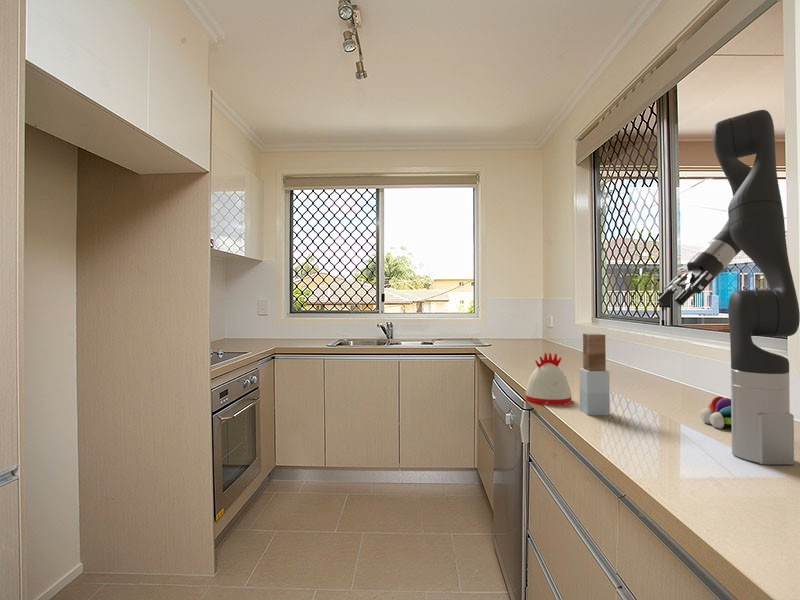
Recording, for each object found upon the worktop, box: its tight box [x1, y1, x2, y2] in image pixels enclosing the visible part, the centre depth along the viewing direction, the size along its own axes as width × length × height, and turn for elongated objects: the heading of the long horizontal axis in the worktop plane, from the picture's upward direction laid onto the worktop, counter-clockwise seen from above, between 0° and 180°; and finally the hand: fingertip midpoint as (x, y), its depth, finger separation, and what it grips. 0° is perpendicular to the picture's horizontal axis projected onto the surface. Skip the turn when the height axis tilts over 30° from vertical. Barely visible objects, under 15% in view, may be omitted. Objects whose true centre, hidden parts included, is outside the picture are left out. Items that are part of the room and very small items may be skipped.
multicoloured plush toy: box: [699, 396, 731, 430], centre depth 117 cm, size 8×10×7 cm
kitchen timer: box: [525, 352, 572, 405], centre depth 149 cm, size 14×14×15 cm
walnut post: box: [582, 333, 607, 371], centre depth 132 cm, size 4×4×10 cm
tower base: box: [579, 389, 611, 416], centre depth 131 cm, size 6×6×6 cm
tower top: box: [578, 367, 610, 393], centre depth 132 cm, size 6×6×6 cm
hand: (668, 302), depth 127 cm, fingers open, 8 cm apart
